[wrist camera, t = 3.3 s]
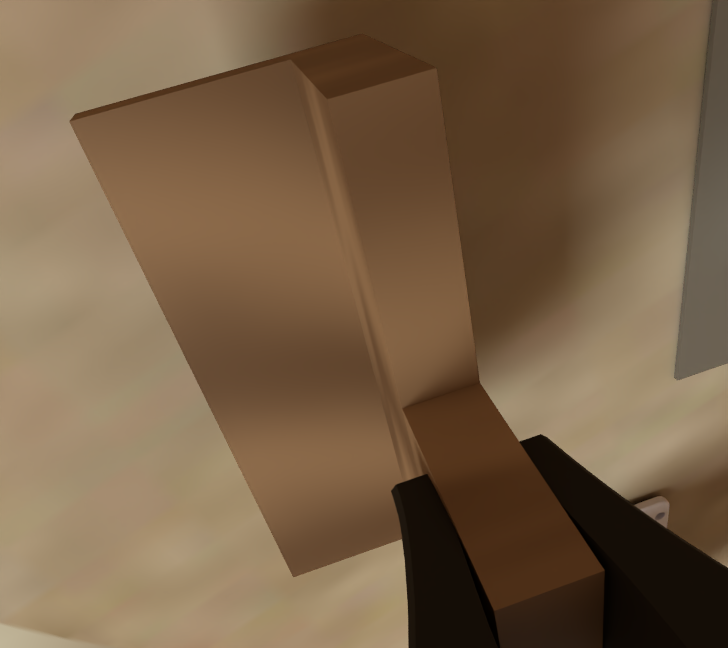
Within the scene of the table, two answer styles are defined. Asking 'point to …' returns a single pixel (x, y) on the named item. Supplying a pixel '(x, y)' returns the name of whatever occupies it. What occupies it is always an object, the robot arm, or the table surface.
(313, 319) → the walnut scraper
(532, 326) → the table surface
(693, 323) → the charcoal mat
